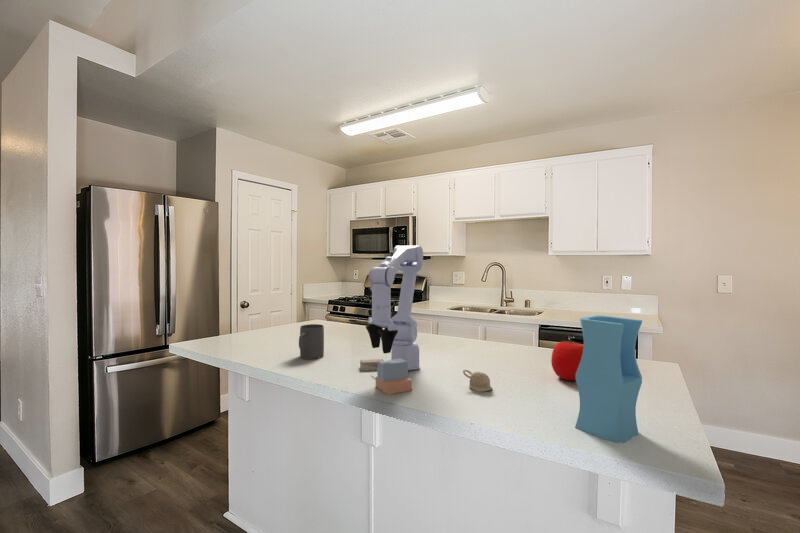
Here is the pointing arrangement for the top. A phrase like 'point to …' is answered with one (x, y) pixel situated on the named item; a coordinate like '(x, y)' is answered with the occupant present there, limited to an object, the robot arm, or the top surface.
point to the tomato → (566, 359)
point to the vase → (609, 378)
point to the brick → (369, 364)
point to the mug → (311, 341)
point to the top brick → (392, 370)
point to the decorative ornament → (478, 381)
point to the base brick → (394, 385)
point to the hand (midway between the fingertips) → (381, 350)
